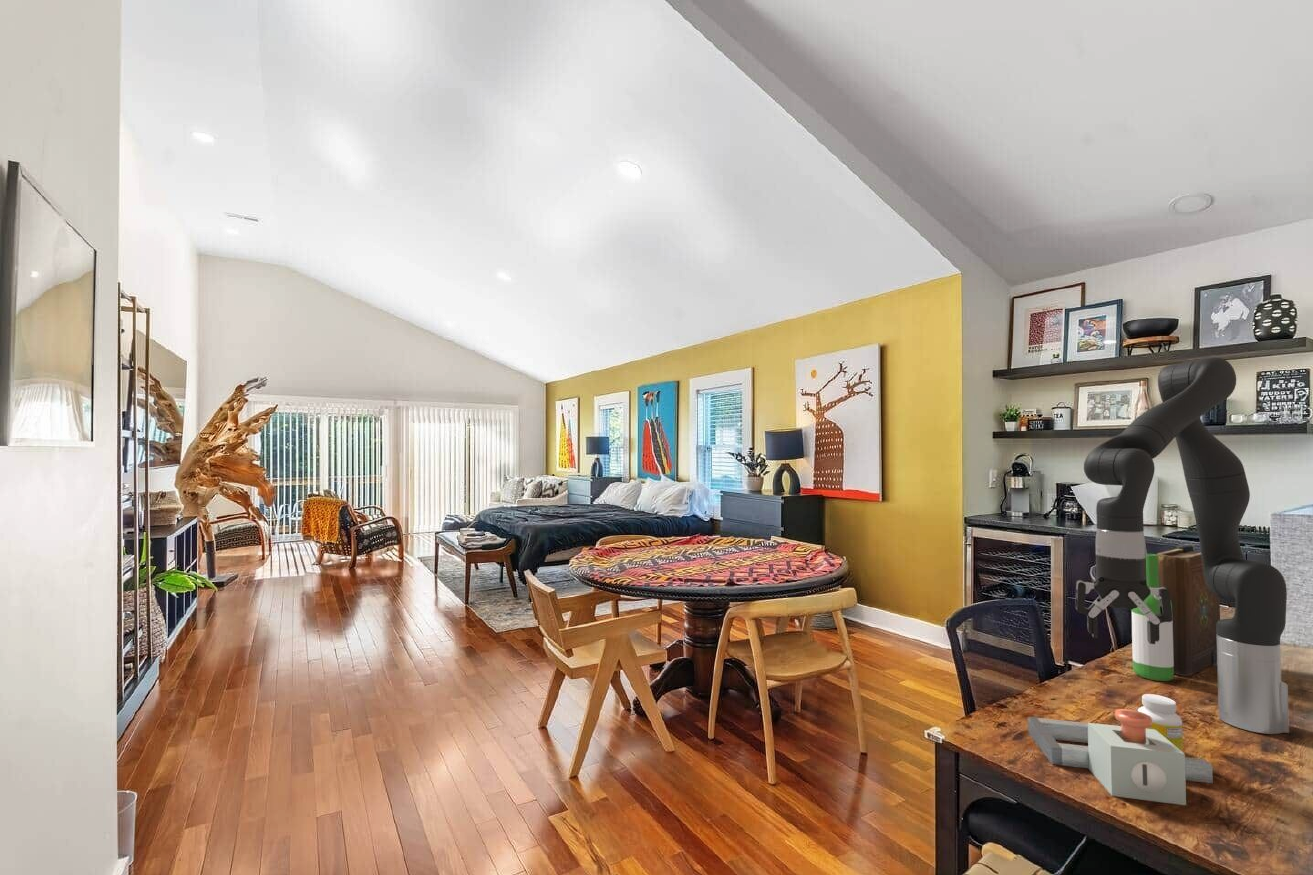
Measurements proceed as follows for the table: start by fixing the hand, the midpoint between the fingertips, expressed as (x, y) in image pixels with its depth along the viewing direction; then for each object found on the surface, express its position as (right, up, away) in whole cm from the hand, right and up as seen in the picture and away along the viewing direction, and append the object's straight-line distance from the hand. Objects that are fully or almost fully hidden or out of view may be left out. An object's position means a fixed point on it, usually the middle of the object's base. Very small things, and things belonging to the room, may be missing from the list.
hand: (1122, 639), depth 111 cm
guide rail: (-4, -20, -4) cm, 21 cm away
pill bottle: (+2, -20, -5) cm, 21 cm away
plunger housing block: (-9, -20, -13) cm, 25 cm away
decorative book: (+50, -21, +41) cm, 68 cm away
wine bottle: (+34, -21, +34) cm, 53 cm away
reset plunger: (-9, -12, -13) cm, 20 cm away
